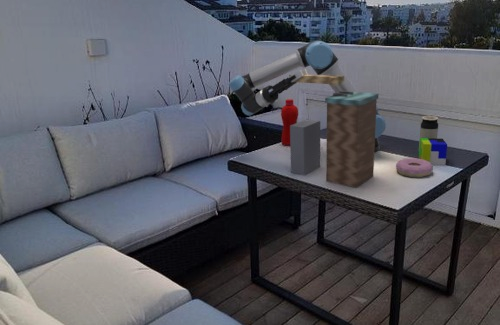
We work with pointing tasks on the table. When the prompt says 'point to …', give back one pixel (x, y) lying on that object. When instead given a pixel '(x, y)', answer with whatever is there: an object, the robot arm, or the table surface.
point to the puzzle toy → (433, 150)
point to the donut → (414, 167)
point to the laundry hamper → (350, 137)
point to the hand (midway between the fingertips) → (304, 72)
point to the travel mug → (429, 127)
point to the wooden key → (321, 79)
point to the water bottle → (288, 120)
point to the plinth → (305, 146)
